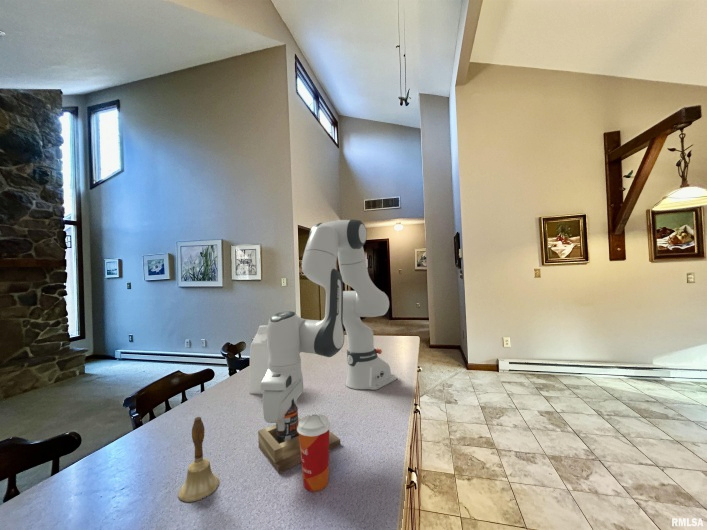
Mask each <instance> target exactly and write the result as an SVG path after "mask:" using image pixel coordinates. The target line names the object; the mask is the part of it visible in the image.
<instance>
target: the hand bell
mask: <svg viewBox="0 0 707 530" xmlns="http://www.w3.org/2000/svg"><path fill="white" fill-rule="evenodd" d="M191 428H192V429H191V439H192V443H193V446H194V461H192V462H191V463H190V464H189V465H188V467H187V472H186V479H185V481H184V483H183V484H182V485H181V487H180V489H179V491H178V495H177V496H178V499H179V500H180V501H182V502H186V503H192V502H198V501H201V500H203V499H204V497H205V498H207V497H209V496H210V495H211V494H213V493H214V492H215V491H216V490H217V489H218V487H219V485H220V479H219V477H218V476H217V475H216V474H214V472H213V471H212V469H211V463H210V460H209V459H207V458H204V452H203V451H204V450H203V442H204V439H205V426H204V423H203V420H202V417H201V416H197V417H195V418H194V421H193V424H192V427H191ZM206 496H207V497H206ZM202 498H203V499H202Z"/></svg>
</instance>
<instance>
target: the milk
mask: <svg viewBox="0 0 707 530" xmlns="http://www.w3.org/2000/svg"><path fill="white" fill-rule="evenodd" d="M267 327H268V325H259V326H258V329H257V331H256V334H255V335H254V337H253V340H252V341H251V343H250V346H249V375H248V376H249V377H248V379H249V380H248V381H249V383H248V394H263V392H264V390H261V382H262V380H263V378H264V376H265V374H266V372H267V369H268V359H269V351H268V348H267Z"/></svg>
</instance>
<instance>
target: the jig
mask: <svg viewBox="0 0 707 530" xmlns="http://www.w3.org/2000/svg"><path fill="white" fill-rule="evenodd" d="M301 419H302V418H300V417H298V423H299V421H300V420H301ZM257 435H258V436H257V437H258V448H259V449H260V451H261V452H262V454H263V455H264V456H265V458H266V459H267V460H268V462H269V463H270V464H271V466H272V467H273V468H274V470H275V471H276V472H277V474H280V473H282V472H285V471H287V470H289V469H291V468H293V467H295V466H297V465H299V464H301V453H300V443H299V436H298V437H295V438H293V439H290V440H288V441H285V442H283V443H280V444H279V443H278V442H277V430H276V424H273V425H271V426H268V427H265V428H262V429H259V430H257ZM339 446H341V438H339V437H338V436H337V435H335V434H334V433H333V432H331V431H330V430H329V451H330V450H333V449H334V448H336V447H339Z"/></svg>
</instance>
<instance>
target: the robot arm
mask: <svg viewBox="0 0 707 530" xmlns="http://www.w3.org/2000/svg"><path fill="white" fill-rule="evenodd" d="M367 235H368V233H367V227H366V225H365V223H364V222H363V221H362V220H359V219H337V220H333V221H327V222H319V223H317V224H314V225H313V226H312V227H311V229H310V230H309V234H308V239H307V242H306V244H305V248H304V251H303V256H302V258H301V259H302V260H301V261H302V262H301V270H302V273H303V275H304V276H305V277H306V278H307V279H308V280H309V281H311V282H313V283H314V284H316V285H318V286H319V287H323V289H324V291H325V306H324V307H325V309H324V311H325V312H324V318H323V319H321V320H320V319H319V320H317V319H308V318H307V319H305V318H302V317H300V316H298V315H297V313H296V312H295V311H290V310H288V311H287V310H285V311H281V312H277V313H275V314H272V315H271V316H270V317H269V319H268V322H267V326H268V327H267V348H268V351H269V359H268V369H267V372H266V374H265V376H264V378H263V380H262V382H261V390H264V392H263V393H262V410H263V411H262V413H263V419H264V421H265V422H266V423H269V424H276V423H277V424H278V431H284V430H285V428H286V422H285V421H284V417H285V414H286V413H287V411H288V410H289V409H290V407H291V405H292V399H293V398H294V404H295V405H296V406H297V402H298V398H299V397H300V396H301V394H302V393H303V392H304V375H303V370H302V358H301V355H300V354H301V353H305V354H314V355H318V356H322V357H327V358H331V357H333V356H335V355H336V354H337V353H339V351H340V350H342V348H343V346H344V343H345V332H346V339H347V341H346V342H347V349H346V358H347V360H346V361H347V374H346V375H347V376H346V380H345V387H348V388H350V389H354V390H375V391H376V390H378V389H380V388H383V387H385V386H387V385H388V384H390V383H393V382H394V381H396V380H397V375H395V374H394V373H392V371H391V367H390V365H389V363H387V362H386V361H385V360H383V359H381V358H380V357H379V356H378V354H379V355H382V353H383V350H382V349H381V348H375V342H374V341H375V340H374V339H375V338H374V331H373V329H372V328H371V327H370V326H368V325H367V324H365V323H364V322H363V321H362V319H361V318H375V317H376V318H377V317H382V316H384V315H386V314H387V312H388V310H389V308H390V300H389V296H388V295H387V294H386V293H385V291H382V290H381V289H379V288H378V287H377V286H376V285H375V283H374V282H373V281H372V279H371V277H370V274H369V271H368V267H367V266H368V265H367V260H366V255H365V251H364V245H365V244H366V242H367V238H368V236H367ZM337 262H338V266H339V267H338V268H339V270H338V269H337ZM344 284H345V285H347V286H349V287H351V288H352V289H353V290H344ZM344 329H345V330H344Z"/></svg>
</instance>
